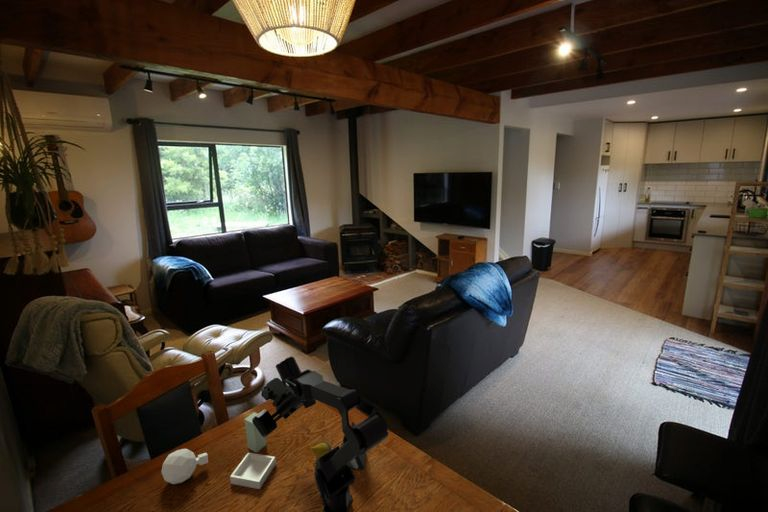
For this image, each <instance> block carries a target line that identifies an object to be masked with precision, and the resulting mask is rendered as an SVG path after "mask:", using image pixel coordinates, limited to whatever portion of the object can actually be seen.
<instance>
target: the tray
mask: <svg viewBox="0 0 768 512" xmlns="http://www.w3.org/2000/svg"><path fill="white" fill-rule="evenodd" d="M276 460H277V459H276V456H272V455H266V454H261V453H256V452H247V454H246V455H245V456H244V457H243V459H242V460H241V462H240V463H239V464H238V465H237V466H236V468H235V469H234V470H233V472H232V473H231V475H230V476H229V477H230V484H231V485H236V486H241V487H246V488H252V489H257V490H261V488H262V487H263V485H264V484H265V482H266V480H267V478H268V477H269V476H270V475H271V472H272V471H273V470H274V468H275V467H276V466H277V461H276Z"/></svg>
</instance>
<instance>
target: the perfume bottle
mask: <svg viewBox="0 0 768 512" xmlns="http://www.w3.org/2000/svg"><path fill="white" fill-rule="evenodd" d="M208 463H209V454H208V453H207V452H204V453H200V454H198V455H197V457H196V455H195V452H193V451H192V450H190V449H188V448H181V449H177V450H175V451H173V452H171V453H169V454H168V455H167V456H166V458H165V460H164V462H163V463H162V466H161V467H162V468H161V475H162V477H163V480H164V481H165V482H166V483H167V482H168V483H169V484H171V485H176V484H181V483H183V482H185V481H186V480H188V479H190V478H192V475H193V474H194V472H195V470H196V468H197V465H199V466H202V465H206V464H208Z"/></svg>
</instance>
